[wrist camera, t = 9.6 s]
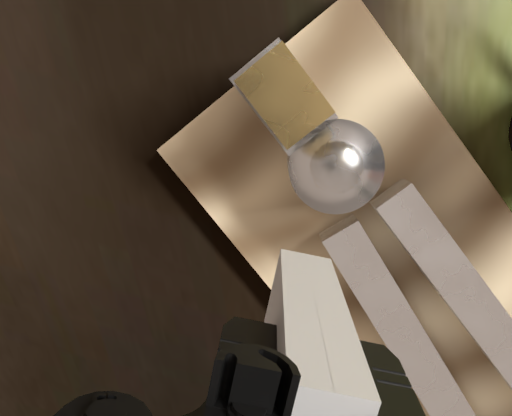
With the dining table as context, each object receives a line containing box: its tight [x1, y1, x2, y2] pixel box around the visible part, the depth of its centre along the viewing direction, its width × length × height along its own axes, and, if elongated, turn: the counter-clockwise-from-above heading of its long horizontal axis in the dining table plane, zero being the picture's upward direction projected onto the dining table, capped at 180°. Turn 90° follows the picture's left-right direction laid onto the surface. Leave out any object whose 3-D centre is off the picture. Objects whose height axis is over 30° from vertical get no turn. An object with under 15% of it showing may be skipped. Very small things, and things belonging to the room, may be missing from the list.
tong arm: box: [319, 213, 476, 416], centre depth 29 cm, size 20×2×2 cm, turn 32°
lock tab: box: [234, 41, 335, 150], centre depth 22 cm, size 4×3×2 cm
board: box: [157, 0, 512, 416], centre depth 31 cm, size 31×15×2 cm, turn 38°
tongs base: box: [229, 37, 512, 390], centre depth 28 cm, size 30×5×4 cm, turn 38°
